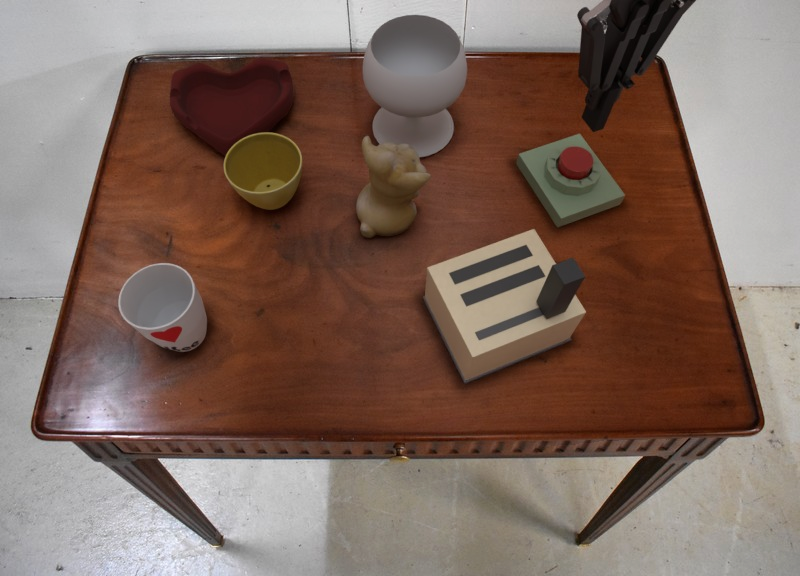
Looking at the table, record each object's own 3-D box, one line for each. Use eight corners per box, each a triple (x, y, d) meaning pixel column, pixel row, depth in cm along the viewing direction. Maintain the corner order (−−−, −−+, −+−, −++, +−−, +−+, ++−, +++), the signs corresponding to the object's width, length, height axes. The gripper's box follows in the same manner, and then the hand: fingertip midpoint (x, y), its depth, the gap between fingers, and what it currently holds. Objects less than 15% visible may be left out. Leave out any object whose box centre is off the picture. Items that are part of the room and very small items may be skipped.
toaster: (570, 341, 73) (589, 312, 65) (464, 384, 70) (471, 359, 63) (522, 260, 78) (535, 226, 71) (422, 298, 75) (424, 266, 68)
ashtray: (174, 171, 85) (162, 147, 80) (180, 89, 92) (169, 63, 88) (299, 159, 86) (294, 134, 82) (294, 79, 94) (289, 53, 89)
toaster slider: (565, 311, 65) (585, 276, 58) (546, 319, 65) (564, 284, 58) (554, 294, 66) (573, 257, 59) (535, 301, 66) (552, 265, 59)
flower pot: (323, 187, 84) (317, 153, 77) (278, 237, 80) (268, 205, 73) (268, 156, 86) (257, 121, 80) (221, 203, 82) (207, 170, 76)
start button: (596, 174, 80) (599, 165, 79) (567, 184, 79) (571, 175, 78) (579, 151, 82) (582, 142, 81) (551, 160, 81) (554, 151, 80)
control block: (620, 204, 82) (630, 186, 79) (557, 227, 80) (564, 210, 77) (575, 143, 87) (583, 124, 84) (515, 163, 86) (520, 144, 82)
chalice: (462, 97, 92) (473, 12, 78) (456, 168, 85) (467, 88, 72) (372, 90, 92) (368, 4, 79) (360, 160, 86) (353, 79, 73)
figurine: (431, 197, 83) (438, 119, 70) (424, 248, 79) (430, 176, 66) (362, 189, 83) (355, 111, 70) (352, 240, 79) (343, 167, 66)
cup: (141, 355, 72) (104, 320, 63) (169, 297, 75) (138, 256, 66) (203, 370, 71) (176, 336, 62) (229, 310, 74) (206, 271, 66)
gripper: (704, -109, 55) (620, 88, 76) (582, -78, 53) (530, 117, 73) (756, -65, 52) (654, 129, 72) (629, -30, 49) (561, 160, 70)
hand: (592, 122), depth 73 cm, fingers closed
